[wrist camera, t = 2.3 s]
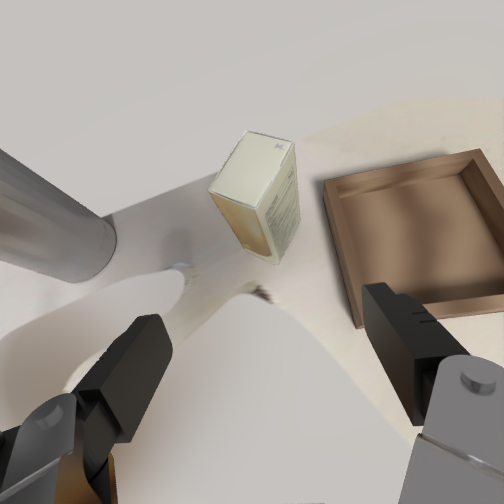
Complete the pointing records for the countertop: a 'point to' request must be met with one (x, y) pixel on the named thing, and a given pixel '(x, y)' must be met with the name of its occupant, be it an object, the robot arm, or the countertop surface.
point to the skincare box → (260, 194)
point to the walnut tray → (422, 233)
